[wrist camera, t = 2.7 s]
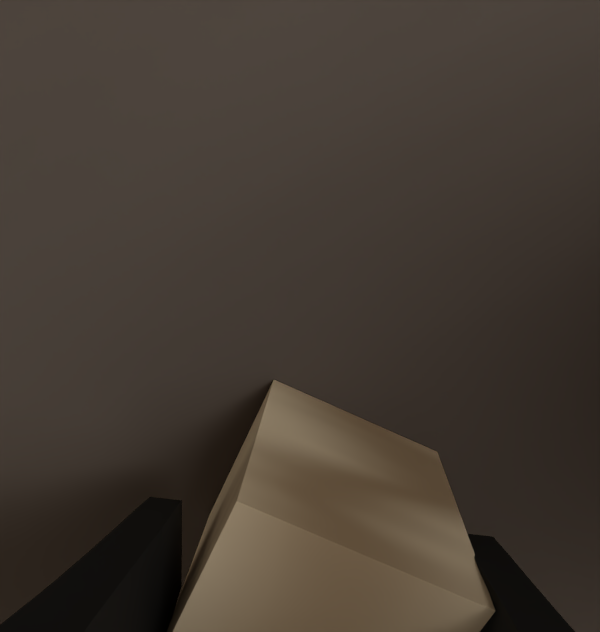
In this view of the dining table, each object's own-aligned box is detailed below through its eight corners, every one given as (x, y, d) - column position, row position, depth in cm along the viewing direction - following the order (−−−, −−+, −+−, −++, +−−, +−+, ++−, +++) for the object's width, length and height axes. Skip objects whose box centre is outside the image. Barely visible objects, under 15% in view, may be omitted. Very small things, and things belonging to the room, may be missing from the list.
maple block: (437, 451, 10) (495, 611, 7) (358, 577, 12) (368, 775, 8) (273, 379, 10) (236, 501, 6) (209, 515, 11) (145, 686, 8)
